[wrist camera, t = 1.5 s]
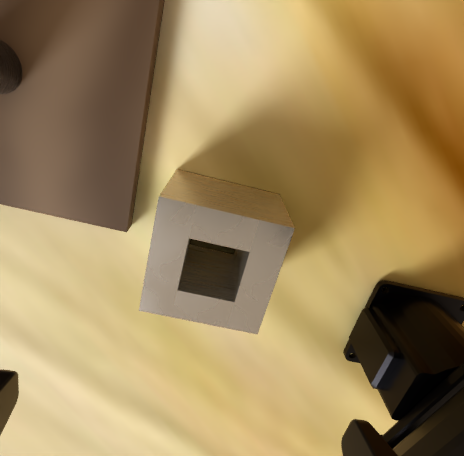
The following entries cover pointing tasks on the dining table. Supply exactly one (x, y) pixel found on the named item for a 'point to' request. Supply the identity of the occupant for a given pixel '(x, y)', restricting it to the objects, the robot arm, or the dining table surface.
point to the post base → (75, 105)
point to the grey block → (215, 252)
